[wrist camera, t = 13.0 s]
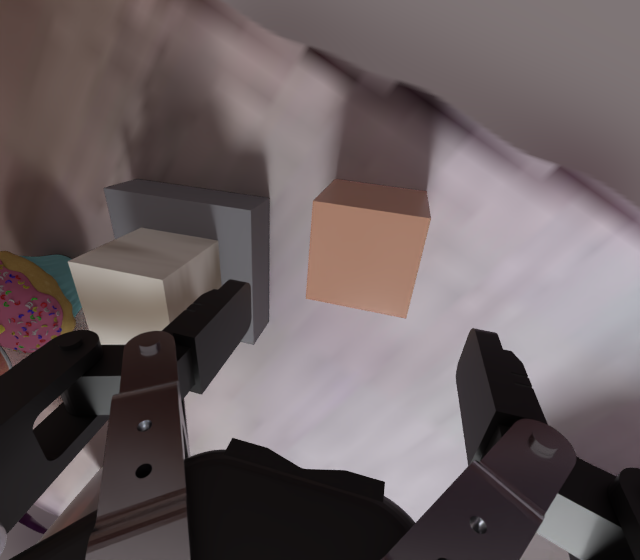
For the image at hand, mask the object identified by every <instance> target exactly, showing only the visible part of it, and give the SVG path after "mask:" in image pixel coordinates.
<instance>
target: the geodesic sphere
mask: <svg viewBox="0 0 640 560" xmlns="http://www.w3.org/2000/svg"><path fill="white" fill-rule="evenodd" d="M520 560H570V558H569V554H568V552H567V551H565V550H564V549H562V548H560V547H559V546H557V545H555V544H554V543H552V542H550V541H549V540H547V539H545V538H544V537H542V536H540V535H539V534H537V533H536V534H535V535H534V537H533V538H532V540H531V542H530V543H529V545H528V547H527V548H526V550H525V552H524V553H523V555H522V557H521V558H520Z"/></svg>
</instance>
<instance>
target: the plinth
mask: <svg viewBox="0 0 640 560" xmlns="http://www.w3.org/2000/svg"><path fill="white" fill-rule="evenodd" d="M104 192H105V197H106V201H107V205H108V210H109V214H110V219H111V223H112V227H113V232H114V236H115V239H117V238H119V237H122V236H124V235H126V234H128V233H130V232H133V231H135V230H137V229H139V228H147V229H153V230H158V231H164V232H170V233H176V234H182V235H188V236H194V237H200V238H206V239H211V240H217V241H218V245H219V259H220V272H221V286H222V285H223V284H224V283H225V282H227V281H228V280H229V279H232V280H237V281H242V282H247V283H249V284H250V286H251V312H252V318H251V324H250V327H249V330H248V332H247V333H246V335H245V336H244V337H243V339H242V340H241V341H240V342H244V343H248V344H253V345H254V344H255V342H256V340H257V339H258V337H259V336H260V334H261V333H262V331H263V330H264V328H265V327H266V325H267V324H268V322H269V198H265V197H258V196H251V195H245V194H238V193H231V192H224V191H217V190H210V189H203V188H196V187H189V186H182V185H175V184H168V183H161V182H154V181H147V180H141V179H135V180H131V181H127V182H124V183H120V184H116V185H113V186H109V187H105V188H104Z"/></svg>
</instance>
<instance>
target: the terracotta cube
mask: <svg viewBox="0 0 640 560" xmlns="http://www.w3.org/2000/svg"><path fill="white" fill-rule="evenodd" d="M430 220H431V216H430V210H429V203H428V197H427V191H421V190H413V189H406V188H399V187H391V186H384V185H377V184H369V183H362V182H355V181H347V180H340V179H335V180H334V181H333V182H332V183H331V184H330V185H329V186H328V187H327V188H326V189H325V190H324V191H323V192H321V193H320V194H319V195H318V196H317V197H316V198H315V199H314V200H313V208H312V222H311V235H310V249H309V263H308V276H307V290H306V299H311V300H316V301H321V302H326V303H331V304H336V305H341V306H346V307H351V308H356V309H361V310H366V311H371V312H376V313H381V314H386V315H391V316H396V317H401V318H406V317H407V313H408V309H409V305H410V301H411V297H412V292H413V288H414V284H415V280H416V276H417V272H418V268H419V264H420V260H421V256H422V252H423V248H424V244H425V240H426V236H427V232H428V228H429V224H430Z"/></svg>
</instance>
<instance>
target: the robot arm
mask: <svg viewBox="0 0 640 560" xmlns="http://www.w3.org/2000/svg"><path fill="white" fill-rule="evenodd" d="M251 318H252V312H251V286H250V284H249V283H247V282H242V281H237V280H232V279H229V280H228V281H227V282H225V283H224V284H223V285H222V286H221V287H220V288H219V289H218V290H217V289H213V290H211V291H208V292H206V293H204V294H202V295H201V296H200V297H198V298H197V299H196V300H195V301H194V302H193V304H191V305H190V306H189V307H187V308H186V310H184V311H183V312H182V313H181V314H180V315H179V316H177V317H176V318H175V319H174V320H173V321H172V322H171V323H170V324H169V325H167V326H166V327H165V328H164V329H163V330H162V331H149V332H145V333H142V334H139V335H137V336H135V337H133V338H132V339H130V340H129V341H128V342H127V343H126V345H101V343H100V339H99V336H98V334H96V333H95V332H93V331H89V330H77V331H71V332H67V333H64V334H62V335H59V336H57V337H55V338H53V339H52V340H50V341H49V342H48V343H46V344H45V345H43V346H42V347H40V348H39V349H38V350H36V351H35V352H33V353H32V354H31V355H29V356H28V357H26V358H25V359H23V360H22V361H21V362H19V363H18V364H16V365H15V366H14V367H12V368H11V369H9V370H8V371H7V372H5V373H4V374H2V375H1V376H0V555H1V553H2V552H3V549H4V547H5V543H6V537H7V533H8V532H9V531H10V530H11V529H12V528H13V527H14V525H15V524H16V523H17V522H18V521H19V520H20V519H21V518H22V516H23V515H24V514H25V513H26V512H27V511H28V510H29V508H30V507H31V506H32V505H33V504H34V503H35V502H36V501H37V499H38V498H39V497H40V496H41V495H42V494H43V493H44V492H45V490H46V489H47V488H48V487H49V486H50V485H51V484H52V482H53V481H54V480H55V479H56V478H57V477H58V476H59V475H60V473H61V472H62V471H63V470H64V469H65V468H66V467H67V466H68V464H69V463H70V462H71V461H72V460H73V459H74V458H75V456H76V455H77V454H78V453H79V452H80V451H81V450H82V449H83V447H84V446H85V445H86V444H87V443H88V442H89V441H90V440H91V438H92V437H93V436H94V435H95V434H96V433H97V432H98V430H99V429H100V428H101V427H102V426H103V425H104V424H105V423H106V421H107V420H108V419H109V423H108V431H107V439H106V447H105V455H104V463H103V466H102V467H101V469H100V470H99V471H98V472H97V473H96V474H95V476H94V477H93V478H92V479H91V480H90V481H89V482H88V484H87V485H86V486H85V487H84V488H83V489H82V491H81V492H80V493H79V494H78V495H77V496H76V497H75V499H74V500H73V501H72V502H71V503H70V504H69V506H68V507H67V508H66V509H65V510H64V511H63V513H62V514H61V515H60V516H59V517H58V519H57V520H56V521H55V522H54V523H53V524H52V526H51V527H50V528H49V529H48V530H47V531H46V533H45V534H44V535H43V536H42V537H41V538H40V540H39V541H38V542H37V543H36V544H35V545H34V546H32V547H30V548H29V549H27V550H25V551H23V552H21V553H20V554H18V555H16V556H14V557H13V558H11V559H9V560H520V558H521V557H522V555H523V553H524V552H525V550H526V548H527V547H528V545H529V543H530V542H531V540H532V538H533V537H534V535H535V534H536V533H537V534H539V535H540V536H542V537H544V538H545V539H547V540H549V541H550V542H552V543H554V544H555V545H557V546H559V547H560V548H562V549H564V550H565V551H567V552H568V554H569V558H570V560H640V469H638V468H626V469H624V470H622V471H621V472H620V474H619V475H618V476H617V477H616V476H614V475H612V474H610V473H608V472H606V471H604V470H602V469H600V468H597V467H595V466H593V465H591V464H589V463H587V462H585V461H583V460H581V459H580V458H578V457H577V456H576V453H575V451H574V449H573V447H572V445H571V444H570V443H569V441H568V440H567V439H566V438H565V437H564V436H563V435H562V434H561V433H559V432H558V431H557V430H555V429H554V428H552V427H551V426H549V425H548V424H547V422H546V419H545V417H544V414H543V412H542V409H541V407H540V405H539V402H538V400H537V397H536V395H535V392H534V390H533V389H532V385H531V383H530V380H529V378H527V377H528V375H527V373H526V370H525V368H524V365H523V363H522V362H521V361H520V360H519V359H518V358H517V357H516V356H515V355H514V353H513V352H512V351H508V350H503V348H502V345H501V343H500V340H499V337H498V334H497V333H494V332H489V331H484V330H479V329H474V328H472V329H471V330H470V332H469V335H468V337H467V340H466V343H465V346H464V348H463V351H462V354H461V357H460V359H459V362H458V366H457V371H456V384H457V391H458V397H459V404H460V411H461V418H462V425H463V432H464V439H465V446H466V453H467V460H468V467H467V468H466V469H465V470H464V472H463V473H462V474H461V475H460V476H459V477H458V478H457V479H456V480H455V481H454V482H453V483H452V484H451V486H450V487H449V488H448V489H447V490H446V491H445V492H444V493H443V494H442V495H441V496H440V497H439V498H438V499H437V501H436V502H435V503H434V504H433V505H432V506H431V507H430V508H429V509H428V510H427V511H426V512H425V513H424V515H423V516H422V517H421V518H420V519H419V520H418V521H417V522H416V523H415V522H414V521H413V520H412V518H411V517H410V516H409V515H408V514H407V513H406V512H405V511H404V510H403V509H401V508H400V507H399V506H398V505H397V504H395V503H394V502H393V501H391V500H390V499H388V498H387V497H385V496H384V486H385V482H383V481H380V480H376V479H373V478H369V477H366V476H363V475H359V474H356V473H352V472H349V471H345V470H315V469H303V468H300V467H298V466H297V465H295V464H293V463H292V462H290V461H288V460H287V459H285V458H283V457H282V456H280V455H278V454H277V453H275V452H273V451H272V450H270V449H268V448H266V447H262V446H259V445H255V444H252V443H248V442H245V441H242V440H238V439H235V438H232V440H231V442H230V444H229V445H228V447H227V449H226V450H213V451H208V452H203V453H200V454H197V455H194V456H190V448H189V438H188V429H187V419H186V409H185V401H184V397H185V396H186V395H187V394H188V392H189V391H191V392H195V393H198V394H203V392H204V391H205V389H206V388H207V387H208V385H209V384H210V383H211V381H212V380H213V378H214V377H215V376H216V374H217V373H218V372H219V370H220V369H221V367H222V366H223V365H224V363H225V362H226V361H227V359H228V358H229V357H230V355H231V354H232V352H233V351H234V350H235V348H236V347H237V346H238V344H239V343H240V341H241V340H242V339H243V337H244V336H245V335H246V333H247V332H248V330H249V327H250V324H251ZM60 395H61V398H62V400H63V403H62V404H61V405H59V406H58V407H57V408H56V409H55V410H54V411H53V412H52V413H51V414H50V415H49V416H48V417H46V418H45V419H44V420H43V421H42V422H41V423H40V424H39V425H38V426H37V427H36V428H35V429H33V424H34V422H35V420H36V418H37V416H38V415H39V414H40V413H41V412H42V411H43V410H44V409H45V408H46V407H48V406H49V405H50V404H51V403H52V402H53V401H54V400H55V399H56V398H58V397H59V396H60Z"/></svg>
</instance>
